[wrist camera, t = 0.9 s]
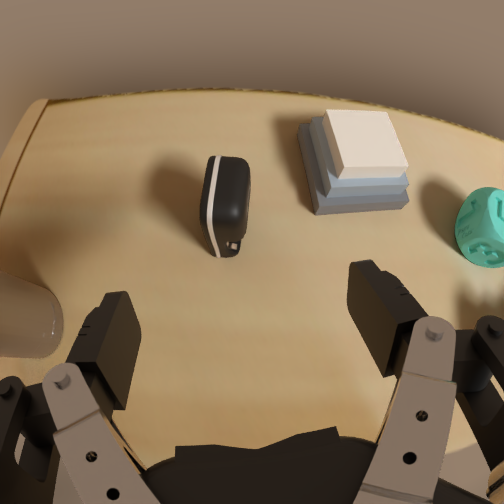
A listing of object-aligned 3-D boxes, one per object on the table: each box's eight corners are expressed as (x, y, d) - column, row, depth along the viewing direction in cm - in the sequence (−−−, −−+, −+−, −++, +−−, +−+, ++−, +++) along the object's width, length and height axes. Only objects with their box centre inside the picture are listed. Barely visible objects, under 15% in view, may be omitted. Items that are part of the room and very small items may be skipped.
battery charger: (245, 262, 35) (245, 223, 24) (211, 259, 35) (196, 219, 24) (250, 205, 37) (253, 149, 26) (218, 202, 37) (209, 146, 26)
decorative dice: (457, 202, 39) (488, 177, 31) (494, 227, 38) (526, 207, 30) (449, 249, 36) (485, 228, 29) (488, 273, 36) (524, 258, 28)
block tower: (314, 215, 37) (330, 185, 30) (297, 135, 41) (305, 97, 33) (401, 209, 38) (428, 182, 31) (376, 134, 41) (394, 101, 34)
